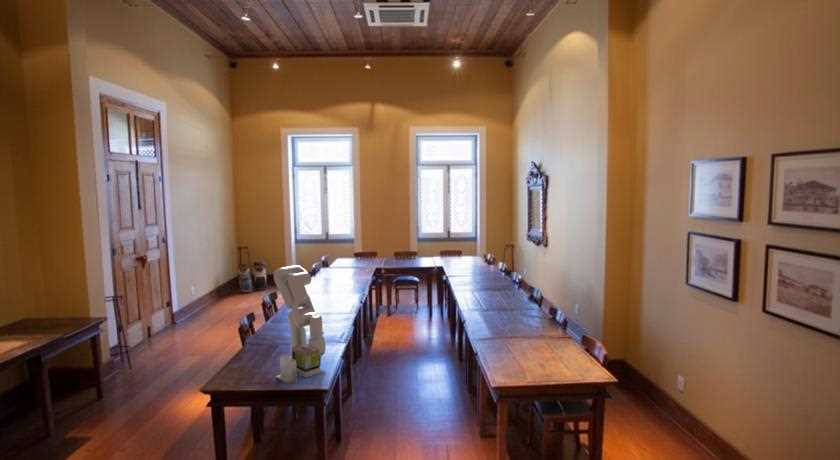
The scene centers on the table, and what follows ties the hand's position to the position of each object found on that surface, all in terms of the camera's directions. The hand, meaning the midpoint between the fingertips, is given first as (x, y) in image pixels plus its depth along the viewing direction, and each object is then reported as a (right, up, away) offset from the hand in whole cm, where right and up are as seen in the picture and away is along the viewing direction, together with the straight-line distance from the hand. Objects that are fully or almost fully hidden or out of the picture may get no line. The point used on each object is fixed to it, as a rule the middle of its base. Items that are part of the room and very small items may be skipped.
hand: (317, 365), depth 278 cm
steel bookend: (-14, -4, -16) cm, 22 cm away
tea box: (-6, -3, -6) cm, 8 cm away
